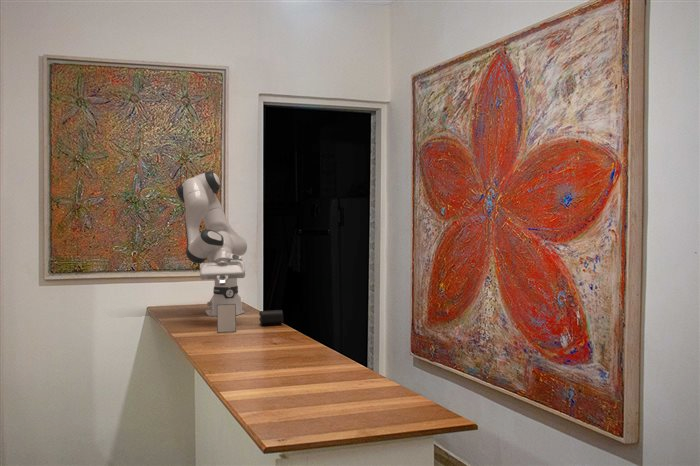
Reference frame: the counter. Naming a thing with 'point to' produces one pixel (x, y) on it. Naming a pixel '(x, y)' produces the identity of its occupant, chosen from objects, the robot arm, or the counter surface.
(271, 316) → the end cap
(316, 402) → the counter surface
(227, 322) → the slate tile
